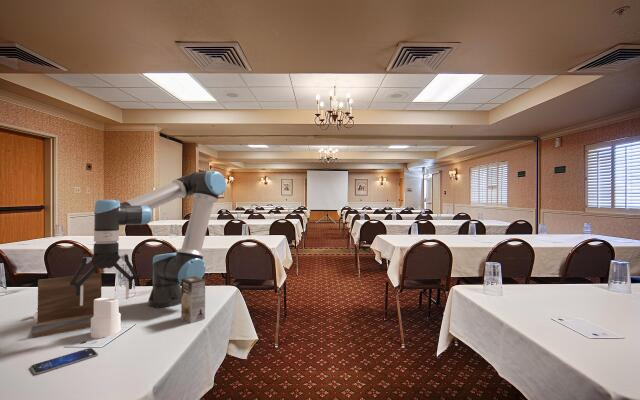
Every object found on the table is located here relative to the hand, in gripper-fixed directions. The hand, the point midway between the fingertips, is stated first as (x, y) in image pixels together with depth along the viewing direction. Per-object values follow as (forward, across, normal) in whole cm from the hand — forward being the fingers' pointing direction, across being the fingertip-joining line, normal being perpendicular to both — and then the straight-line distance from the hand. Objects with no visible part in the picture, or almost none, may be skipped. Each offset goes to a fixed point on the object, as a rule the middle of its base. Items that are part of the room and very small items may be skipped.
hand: (105, 301), depth 115 cm
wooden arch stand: (+12, -11, +17) cm, 23 cm away
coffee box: (+11, +30, -3) cm, 32 cm away
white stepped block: (+12, 0, 0) cm, 12 cm away
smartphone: (+12, -10, -18) cm, 24 cm away
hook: (+12, -20, +37) cm, 44 cm away
